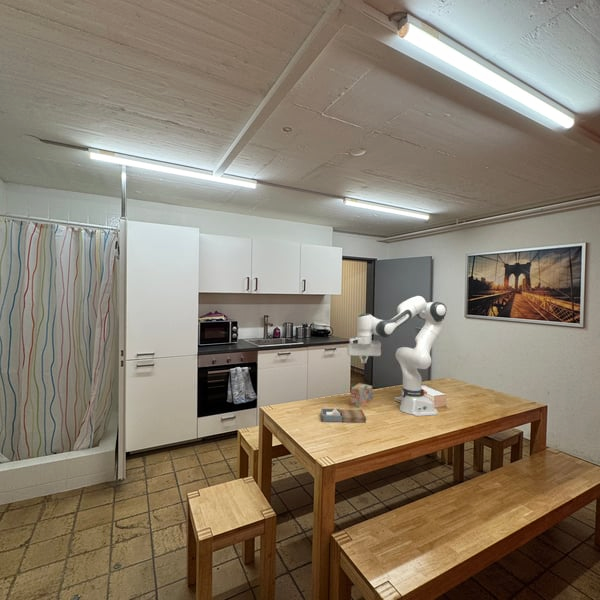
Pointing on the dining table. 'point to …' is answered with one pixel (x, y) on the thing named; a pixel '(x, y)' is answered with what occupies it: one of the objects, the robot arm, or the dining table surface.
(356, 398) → the stack of blocks
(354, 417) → the board
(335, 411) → the tile
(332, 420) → the tray
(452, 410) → the dining table surface
